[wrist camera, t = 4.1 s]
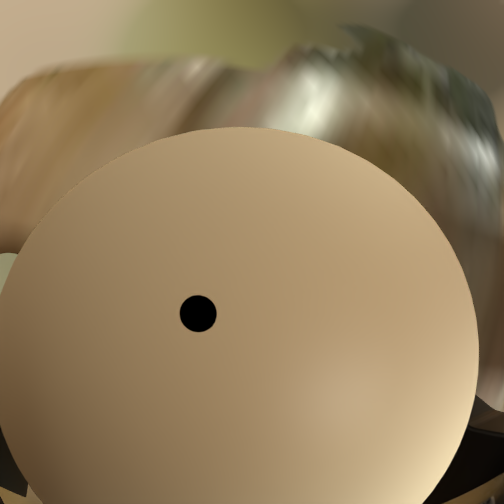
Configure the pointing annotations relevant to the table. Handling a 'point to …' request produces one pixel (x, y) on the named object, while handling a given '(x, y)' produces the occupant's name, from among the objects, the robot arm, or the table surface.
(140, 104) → the table surface
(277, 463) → the peg
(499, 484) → the robot arm
